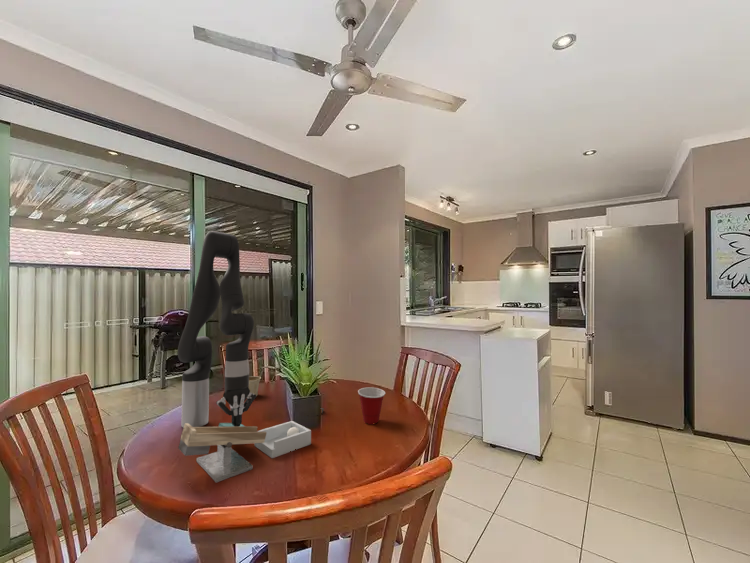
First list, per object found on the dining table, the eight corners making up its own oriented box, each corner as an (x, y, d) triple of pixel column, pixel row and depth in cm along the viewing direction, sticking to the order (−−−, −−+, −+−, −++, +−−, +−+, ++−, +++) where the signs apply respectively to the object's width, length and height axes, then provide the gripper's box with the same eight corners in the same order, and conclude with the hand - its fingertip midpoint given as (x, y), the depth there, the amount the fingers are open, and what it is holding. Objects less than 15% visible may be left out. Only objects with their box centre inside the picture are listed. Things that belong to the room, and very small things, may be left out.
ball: (297, 427, 118) (291, 439, 116) (288, 424, 116) (282, 436, 114) (303, 430, 115) (298, 442, 114) (294, 427, 113) (289, 440, 111)
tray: (254, 445, 111) (254, 431, 111) (292, 433, 121) (292, 420, 121) (271, 458, 103) (272, 443, 103) (311, 444, 112) (311, 430, 113)
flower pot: (236, 398, 162) (236, 380, 162) (246, 393, 171) (247, 375, 172) (254, 399, 160) (254, 381, 161) (264, 393, 170) (264, 376, 170)
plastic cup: (370, 429, 124) (370, 396, 125) (352, 421, 132) (352, 390, 133) (391, 422, 131) (391, 391, 132) (373, 415, 140) (373, 385, 140)
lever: (166, 434, 102) (172, 412, 103) (236, 433, 117) (241, 413, 118) (185, 456, 88) (193, 431, 89) (263, 451, 103) (268, 429, 104)
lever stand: (196, 461, 101) (196, 440, 101) (230, 450, 108) (230, 431, 108) (216, 482, 89) (216, 459, 90) (252, 469, 96) (252, 447, 97)
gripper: (251, 368, 120) (251, 417, 119) (212, 375, 111) (211, 428, 110) (260, 371, 115) (260, 423, 114) (220, 378, 106) (220, 435, 105)
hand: (236, 425), depth 112 cm, fingers closed
